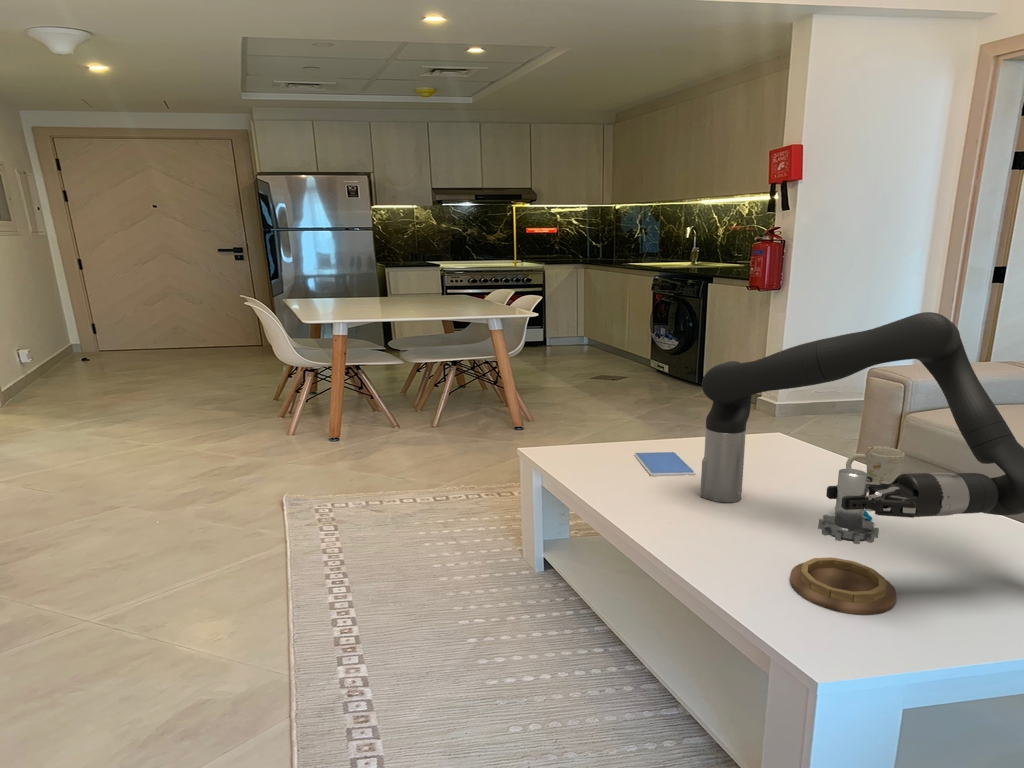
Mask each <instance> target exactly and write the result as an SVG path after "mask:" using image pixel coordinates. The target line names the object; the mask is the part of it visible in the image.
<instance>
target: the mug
mask: <svg viewBox="0 0 1024 768" xmlns="http://www.w3.org/2000/svg"><path fill="white" fill-rule="evenodd" d="M904 459H905V452H903V450H900V449H897V448H892V447H888V446H869V447H867V448H866V449H865V454H864V453H855V454H852V455H851V456H849V457H848V459H847V460H846V461H845V469H853V468H852V464H853V462H854V461H856V460H866V461H865V462H866V473H867V476H870V477H872V478H873V480H872V482H880V481H885V482H890V483H892V482H893V481H894V480H895V479H896V478H897V477H898V476H899V475H901V474H900V473H901V469H902V467H903V463H904Z"/></svg>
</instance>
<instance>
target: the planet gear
mask: <svg viewBox="0 0 1024 768" xmlns="http://www.w3.org/2000/svg"><path fill="white" fill-rule="evenodd" d="M837 477H838V479H837V485H838V486H837V498H836V499H835V500H836V501H835V507H836V508H834V509H835V510H834V511H835V512H834V513H835V514H834V515H829V514H824V515H823V516H822V518H819V519H818V522H817V523H818V524H817V525H818V526H817V529H818V530H821V534H822V535H823V536H830V537H833V538H834V540H835V541H838V542H840V543H841V542H842V541H846V542H847V541H848V542H852V543H853V544H854V545H860V544H861V542H868V543H870V544H872V543H875V538H876V539H878V538H879V530H880V528H879V527H875V523H874V522H873V521H871V520H870V521H869V520H868V521H866V520H864V516H863V515H864V509H858V510H845V509H843V508H842V507H841V505H842V498H843V497H844V496H865V495H866V484H867V471H864V470H861V469H856V468H852V469H846V468H840V469H839V470H838V475H837Z"/></svg>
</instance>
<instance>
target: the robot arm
mask: <svg viewBox="0 0 1024 768" xmlns="http://www.w3.org/2000/svg"><path fill="white" fill-rule="evenodd" d="M908 360H918V361H919V362H920V363H921V364H922V365H923V367H925V369H927V371H928V372H929V373H930V375H931V376H932V377H933V378H934V380H935V381H936V384H937V385H938V386H939V388H940V389H941V390H940V391H942V394H943V395H944V397H945V400H946V402H947V405H948V406H949V410H950V412H951V414H952V417H953V419H954V422H955V424H956V427H957V428H958V430H959V432H960V434H961V436H962V437H963V439H964V440H965V443H966V444H967V447H968V448H969V449H970V451H971V453H972V455H973V456H974V458H975V459H976V460H977V462H979V463H980V464H983V465H990V464H991V465H992V464H994V465H996V466H997V467H999V469H1000V470H1002V472H1004V474H1002V475H998V476H995V477H989V476H988V475H987V474H984V473H979V472H958V473H956V472H955V473H951V472H950V473H949V472H915V473H914V472H913V473H911V472H910V473H909V472H908V473H901V474H899V476H898V477H897V478H896V479H895V480H894V481H893V482H892V483H890V482H885V481H880V482H872V480H873V478H872V477H870V476H867V484H866V495H865V496H844V497H843V498H842V505H841V507H842V508H843V509H845V510H858V509H865V510H866V511H867V512H874V515H876V516H884V517H896V518H897V517H898V518H912V519H914V518H920V517H922V518H924V517H926V518H927V517H947V516H953V515H959V514H960V515H962V514H965V515H966V514H980V513H983V514H986V515H987V514H988V515H994V516H1015V515H1021V514H1024V446H1022V445H1021V444H1020V443H1019V441H1018V440H1017V439H1016V437H1015V435H1014V434H1013V432H1012V430H1011V428H1010V427H1009V425H1008V424H1007V422H1006V420H1005V419H1004V417H1003V415H1002V414H1001V412H1000V411H999V409H998V408H997V406H996V404H994V401H993V400H992V399H991V398H990V396H989V394H988V393H987V390H985V388H984V387H983V384H982V383H981V382H980V379H979V378H978V377H977V375H976V372H975V371H974V369H973V367H972V364H971V362H970V360H969V356H968V355H967V352H966V349H965V346H964V342H963V341H962V338H961V333H960V330H959V329H958V327H957V326H956V325H955V323H954V322H953V321H952V320H950V319H948V318H947V317H946V316H944V315H943V314H940V313H937V312H933V311H929V312H928V311H927V312H924V311H923V312H920V313H915V314H911V315H909V316H906V317H904V318H901V319H897V320H895V321H891V322H889V323H886V324H883V325H880V326H877V327H875V328H874V327H873V328H870V329H866V330H863V331H857V332H851V333H845V334H840V335H836V336H830V337H827V338H826V337H825V338H822V339H818V340H814V341H809V342H805V343H801V344H798V345H795V346H791V347H788V348H785V349H783V350H780V351H778V352H775V353H773V354H770V355H768V356H767V355H766V356H764V357H762V358H758V359H756V360H752V361H747V362H740V361H736V360H735V361H734V360H731V361H726V362H723V363H720V364H717V365H714V366H713V367H711V368H710V369H709V370H708V371H707V372H706V373H705V374H704V376H703V378H702V380H701V389H702V392H703V394H704V395H705V396H706V397H707V398H708V399H709V400H711V401H712V406H711V409H710V410H709V411H708V414H707V416H706V417H705V418H706V419H705V437H704V454H703V455H704V456H703V458H702V460H701V475H700V477H701V478H700V492H699V493H700V497H701V498H705V499H707V500H710V501H713V502H718V503H736V502H739V501H740V500H742V493H743V480H744V479H743V478H744V465H745V446H746V432H747V423H748V420H749V418H750V414H751V406H752V396H753V395H756V394H760V393H765V392H771V391H779V390H788V389H789V390H790V389H796V388H802V387H808V386H815V385H820V384H825V383H831V382H834V381H839V380H841V379H844V378H847V377H850V376H853V375H854V374H856V373H860V372H862V371H863V370H866V369H868V368H870V367H874V366H877V365H880V364H885V363H892V362H899V361H908ZM867 493H868V495H867ZM826 498H828V499H829V500H836V498H837V486H836V485H829V486H827V488H826Z"/></svg>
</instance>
